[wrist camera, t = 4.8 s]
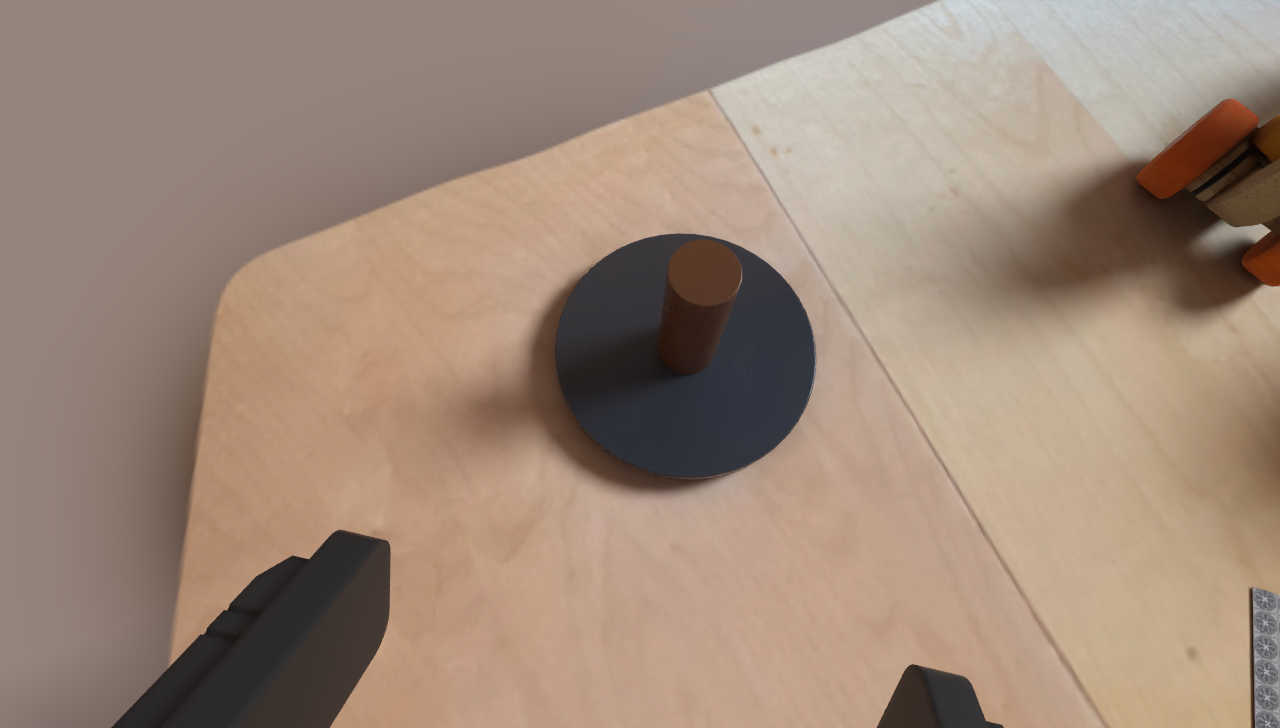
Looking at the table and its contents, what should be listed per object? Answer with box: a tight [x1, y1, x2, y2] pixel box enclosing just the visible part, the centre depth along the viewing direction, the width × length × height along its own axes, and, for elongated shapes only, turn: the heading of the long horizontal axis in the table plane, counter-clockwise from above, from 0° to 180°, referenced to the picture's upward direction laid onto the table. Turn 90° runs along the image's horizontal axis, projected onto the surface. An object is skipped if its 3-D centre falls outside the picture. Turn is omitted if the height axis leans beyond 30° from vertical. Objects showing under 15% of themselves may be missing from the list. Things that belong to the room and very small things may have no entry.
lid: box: [555, 234, 816, 480], centre depth 27 cm, size 12×12×8 cm
